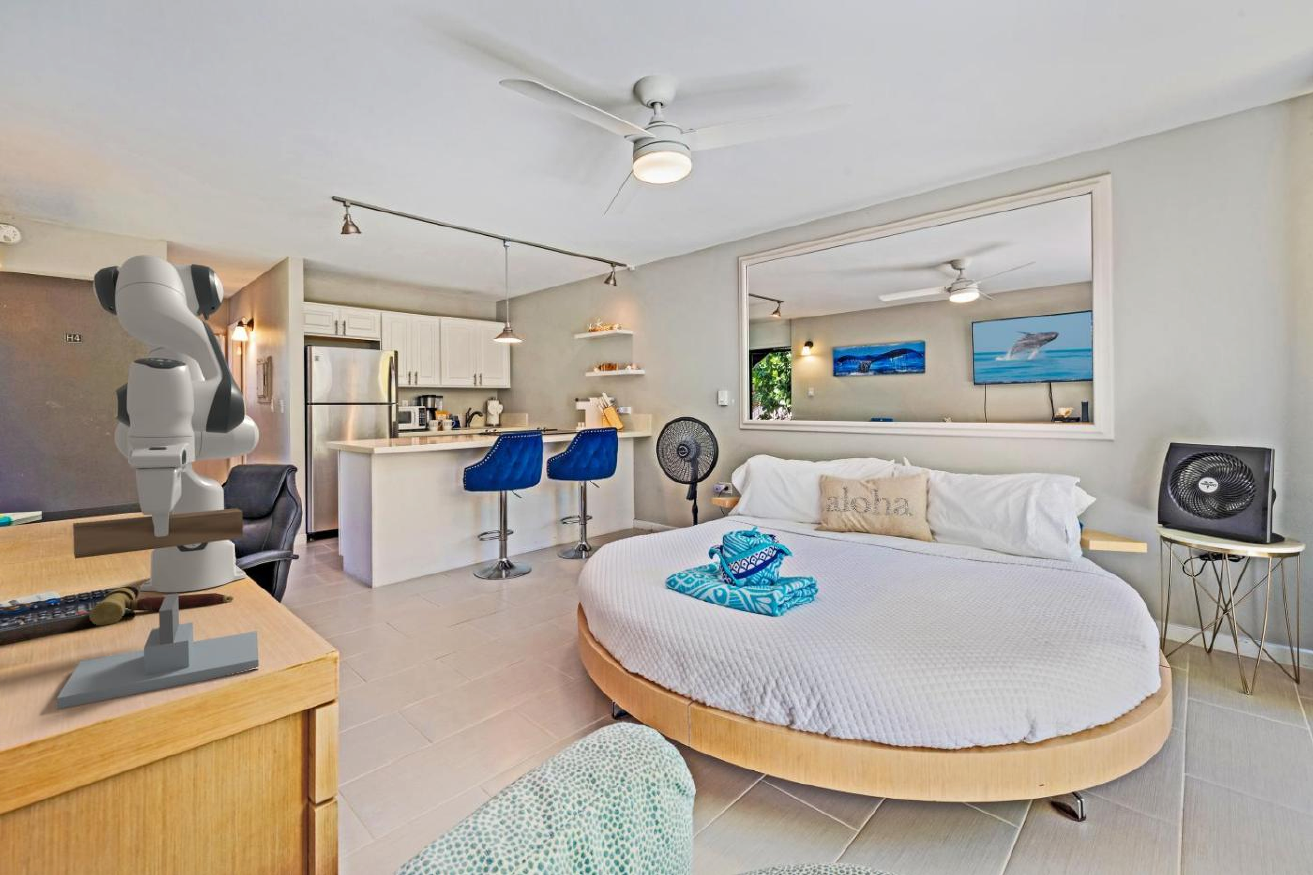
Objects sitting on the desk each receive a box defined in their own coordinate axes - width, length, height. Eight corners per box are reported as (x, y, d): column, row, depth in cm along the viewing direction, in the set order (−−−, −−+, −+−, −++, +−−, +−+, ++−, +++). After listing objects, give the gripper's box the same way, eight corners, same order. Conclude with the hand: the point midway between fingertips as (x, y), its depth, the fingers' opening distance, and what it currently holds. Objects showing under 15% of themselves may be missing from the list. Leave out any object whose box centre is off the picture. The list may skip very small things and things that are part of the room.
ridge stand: (81, 670, 89) (79, 601, 88) (257, 639, 101) (256, 579, 101) (57, 709, 77) (54, 631, 77) (258, 669, 90) (257, 601, 89)
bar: (74, 553, 95) (73, 523, 95) (237, 534, 111) (237, 508, 111) (75, 558, 92) (74, 527, 92) (242, 538, 108) (242, 511, 108)
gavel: (236, 581, 126) (231, 593, 117) (235, 602, 126) (230, 616, 117) (105, 588, 115) (89, 603, 106) (104, 611, 115) (88, 628, 106)
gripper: (146, 449, 107) (147, 523, 108) (128, 458, 91) (130, 546, 91) (190, 448, 111) (191, 520, 112) (180, 457, 94) (182, 542, 95)
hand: (163, 532), depth 101 cm, fingers closed on bar, 4 cm apart
